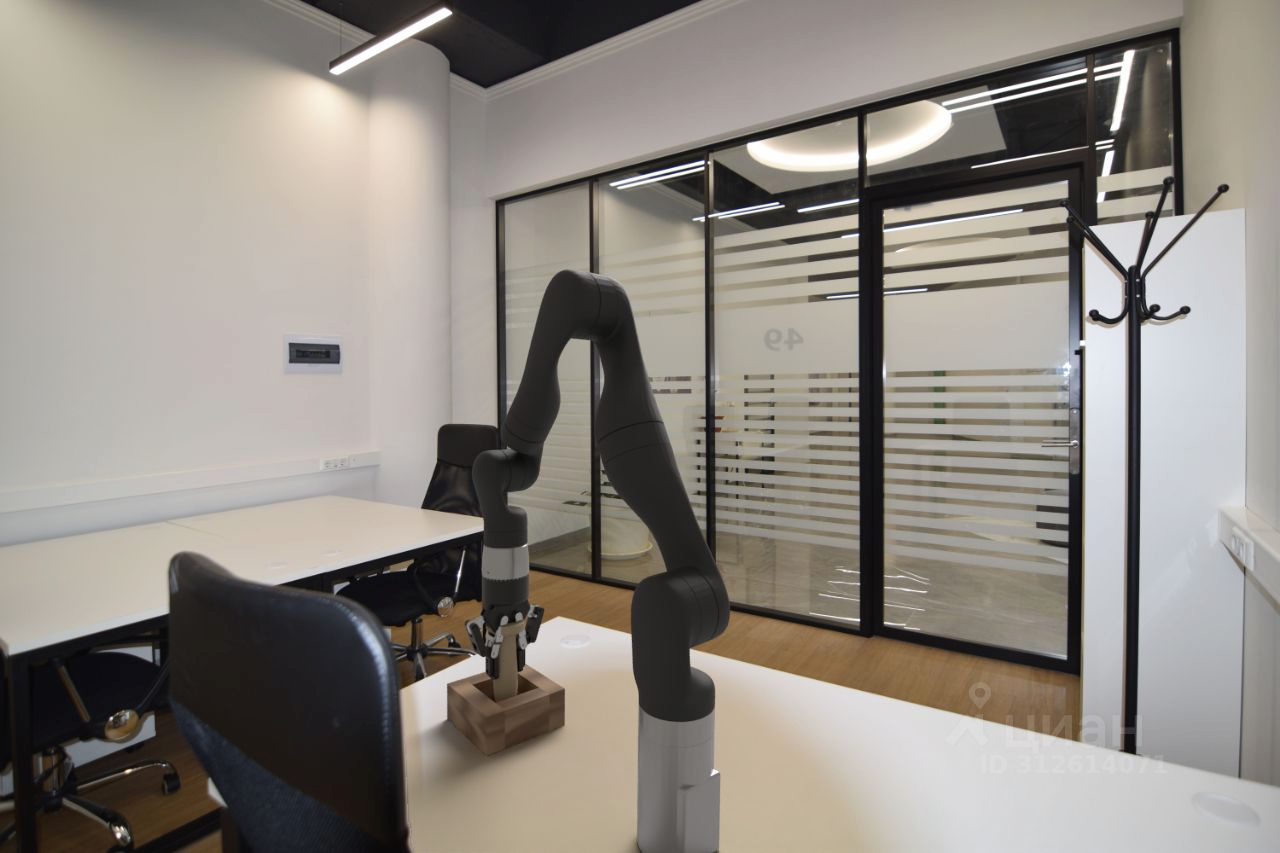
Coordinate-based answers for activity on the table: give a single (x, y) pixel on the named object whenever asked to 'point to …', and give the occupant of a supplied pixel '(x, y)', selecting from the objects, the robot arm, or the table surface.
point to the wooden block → (505, 709)
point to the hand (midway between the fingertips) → (505, 673)
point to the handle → (507, 662)
